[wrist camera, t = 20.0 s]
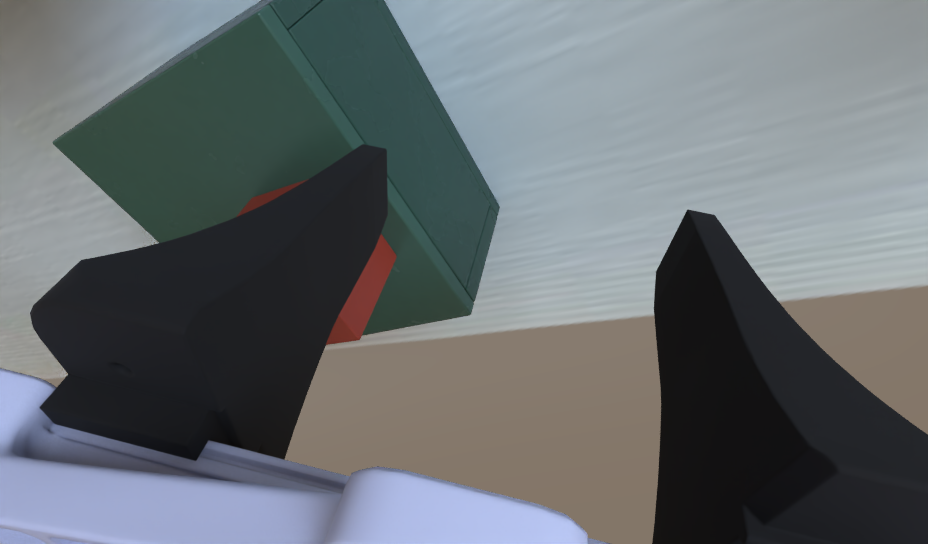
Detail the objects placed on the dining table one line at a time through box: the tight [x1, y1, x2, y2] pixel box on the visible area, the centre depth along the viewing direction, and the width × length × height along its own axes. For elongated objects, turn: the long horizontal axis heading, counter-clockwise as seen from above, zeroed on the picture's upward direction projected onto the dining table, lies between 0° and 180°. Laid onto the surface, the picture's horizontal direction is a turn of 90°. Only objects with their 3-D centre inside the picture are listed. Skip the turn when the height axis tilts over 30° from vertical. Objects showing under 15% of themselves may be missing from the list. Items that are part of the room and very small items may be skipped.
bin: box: [76, 0, 500, 302], centre depth 23 cm, size 11×13×6 cm
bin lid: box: [53, 5, 474, 335], centre depth 21 cm, size 11×13×1 cm
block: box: [237, 179, 397, 345], centre depth 18 cm, size 4×4×4 cm
